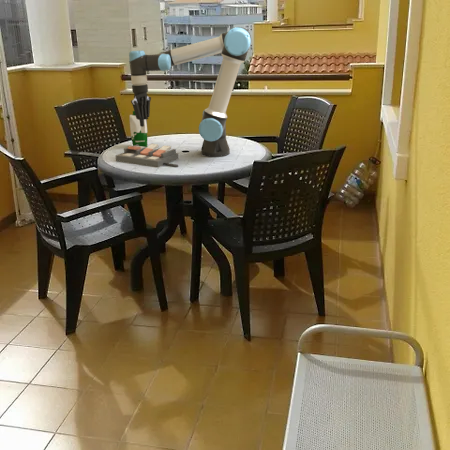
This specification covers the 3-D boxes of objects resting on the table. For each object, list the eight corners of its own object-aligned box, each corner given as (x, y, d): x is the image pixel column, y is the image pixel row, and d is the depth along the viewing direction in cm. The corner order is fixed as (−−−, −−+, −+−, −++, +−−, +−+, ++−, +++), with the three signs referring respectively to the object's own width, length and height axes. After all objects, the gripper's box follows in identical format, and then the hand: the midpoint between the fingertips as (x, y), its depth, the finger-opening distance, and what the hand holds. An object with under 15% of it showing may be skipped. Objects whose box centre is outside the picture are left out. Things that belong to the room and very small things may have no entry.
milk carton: (146, 145, 303) (143, 109, 295) (149, 148, 295) (146, 112, 287) (131, 146, 301) (127, 110, 293) (133, 150, 293) (129, 113, 285)
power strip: (192, 160, 268) (191, 150, 266) (172, 169, 254) (172, 158, 252) (137, 153, 285) (136, 144, 283) (116, 161, 271) (115, 151, 270)
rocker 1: (146, 149, 279) (146, 147, 279) (134, 149, 271) (134, 147, 270) (140, 148, 281) (140, 146, 281) (127, 148, 273) (127, 146, 272)
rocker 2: (171, 148, 271) (170, 146, 270) (160, 156, 264) (159, 154, 263) (164, 147, 273) (164, 145, 272) (153, 155, 266) (152, 153, 265)
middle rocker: (158, 146, 274) (158, 144, 274) (147, 155, 268) (146, 153, 267) (152, 145, 277) (151, 143, 276) (140, 154, 270) (140, 152, 269)
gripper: (142, 82, 264) (146, 129, 273) (124, 85, 253) (130, 134, 262) (154, 82, 260) (158, 130, 269) (137, 86, 250) (142, 135, 259)
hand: (144, 132), depth 266 cm, fingers closed
